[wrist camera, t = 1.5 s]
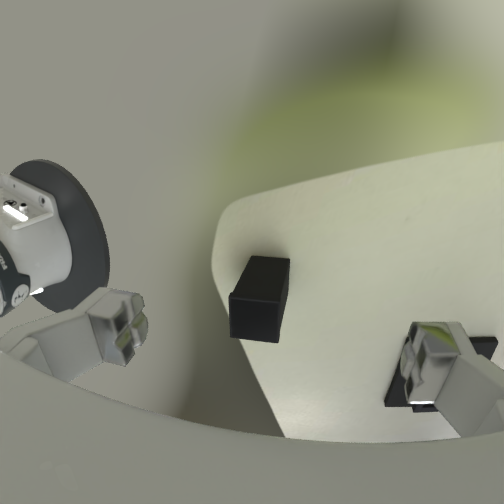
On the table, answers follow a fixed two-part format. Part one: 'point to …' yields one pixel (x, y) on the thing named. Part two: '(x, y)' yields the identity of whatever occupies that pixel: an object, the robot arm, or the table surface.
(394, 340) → the table surface
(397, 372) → the base pad
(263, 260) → the black tall box
